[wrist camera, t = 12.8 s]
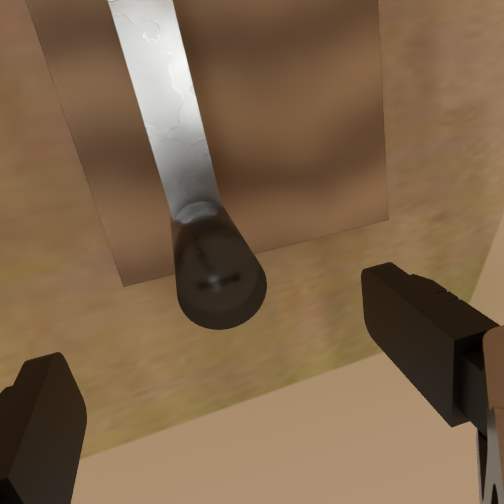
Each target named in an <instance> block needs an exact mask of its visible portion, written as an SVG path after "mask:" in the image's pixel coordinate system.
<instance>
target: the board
mask: <svg viewBox="0 0 504 504" xmlns="http://www.w3.org/2000/svg"><path fill="white" fill-rule="evenodd" d="M172 1H173V5H174V9H175V13H176V17H177V21H178V26H179V30H180V34H181V38H182V42H183V46H184V50H185V54H186V58H187V63H188V67H189V71H190V75H191V79H192V83H193V87H194V91H195V96H196V100H197V104H198V108H199V112H200V116H201V120H202V124H203V128H204V133H205V137H206V141H207V145H208V149H209V153H210V157H211V161H212V165H213V170H214V174H215V178H216V182H217V186H218V190H219V194H220V198H221V203H222V205H223V206H224V208H225V209H226V211H227V212H228V214H229V216H230V217H231V219H232V220H233V222H234V224H235V225H236V227H237V228H238V230H239V232H240V233H241V235H242V236H243V238H244V240H245V241H246V243H247V244H248V246H249V248H250V249H251V251H252V252H253V254H256V253H260V252H264V251H268V250H272V249H276V248H280V247H283V246H287V245H291V244H295V243H299V242H303V241H307V240H311V239H315V238H319V237H323V236H327V235H331V234H335V233H339V232H343V231H347V230H351V229H355V228H359V227H363V226H366V225H370V224H374V223H378V222H382V221H386V220H389V217H388V196H387V176H386V156H385V136H384V115H383V95H382V75H381V54H380V34H379V14H378V0H172ZM26 3H27V6H28V9H29V11H30V14H31V17H32V20H33V23H34V26H35V29H36V32H37V35H38V38H39V41H40V44H41V47H42V50H43V53H44V55H45V58H46V61H47V64H48V67H49V70H50V73H51V76H52V79H53V82H54V85H55V88H56V91H57V94H58V97H59V99H60V102H61V105H62V108H63V111H64V114H65V117H66V120H67V123H68V126H69V129H70V132H71V135H72V138H73V141H74V143H75V146H76V149H77V152H78V155H79V158H80V161H81V164H82V167H83V170H84V173H85V176H86V179H87V182H88V185H89V187H90V190H91V193H92V196H93V199H94V202H95V205H96V208H97V211H98V214H99V217H100V220H101V223H102V226H103V229H104V231H105V234H106V237H107V240H108V243H109V246H110V249H111V252H112V255H113V258H114V261H115V264H116V267H117V270H118V273H119V275H120V278H121V281H122V284H123V287H125V286H129V285H133V284H137V283H141V282H145V281H149V280H153V279H157V278H161V277H165V276H169V275H173V274H175V266H174V256H173V246H172V236H171V225H170V221H171V216H172V215H171V211H170V208H169V205H168V201H167V198H166V194H165V191H164V188H163V184H162V181H161V178H160V174H159V171H158V168H157V164H156V161H155V157H154V154H153V151H152V147H151V144H150V141H149V137H148V134H147V131H146V127H145V124H144V120H143V117H142V114H141V110H140V107H139V104H138V100H137V97H136V94H135V90H134V87H133V83H132V80H131V77H130V73H129V70H128V67H127V63H126V60H125V57H124V53H123V50H122V46H121V43H120V40H119V36H118V33H117V30H116V26H115V23H114V19H113V16H112V13H111V9H110V6H109V3H108V0H26Z"/></svg>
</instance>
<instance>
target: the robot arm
mask: <svg viewBox="0 0 504 504" xmlns="http://www.w3.org/2000/svg"><path fill="white" fill-rule="evenodd" d="M361 283H362V296H363V309H364V320H365V324H366V327H367V330H368V332H369V334H370V336H371V337H372V339H373V340H374V341H375V342H376V344H377V345H378V346H379V347H380V348H381V349H382V350H383V351H384V352H385V354H386V355H387V356H388V357H389V358H390V359H391V360H392V361H393V363H394V364H395V365H396V366H397V367H398V368H399V369H400V370H401V372H402V373H403V374H404V375H405V376H406V377H407V378H408V379H409V381H410V382H411V383H412V384H413V385H414V386H415V387H416V388H417V389H418V391H419V392H420V393H421V394H422V395H423V396H424V397H425V398H426V400H427V401H428V402H429V403H430V404H431V405H432V406H433V407H434V409H435V410H436V411H437V412H438V413H439V414H440V415H441V416H442V417H443V419H444V420H445V421H446V422H447V423H448V424H449V425H450V426H451V427H454V426H457V425H460V424H463V423H466V422H469V421H471V422H472V423H473V425H474V426H475V427H477V433H476V434H477V435H476V446H477V464H478V481H479V499H480V504H504V326H500V325H499V324H497V323H495V322H494V321H493V320H491V319H489V318H488V317H487V316H485V315H483V314H482V313H481V312H479V311H478V310H476V309H475V308H473V307H472V306H470V305H469V304H467V303H466V302H464V301H463V300H459V299H458V297H457V296H455V295H454V294H452V293H451V292H447V290H446V289H445V288H443V287H442V286H440V285H439V284H437V283H436V282H434V281H433V280H430V279H427V278H424V277H421V276H418V275H415V274H412V275H409V274H407V273H406V272H404V271H403V270H402V269H400V268H399V267H397V266H396V265H394V264H393V263H391V262H388V263H384V264H380V265H377V266H373V267H369V268H366V269H363V271H362V274H361ZM86 424H87V413H86V406H85V403H84V400H83V397H82V395H81V393H80V390H79V388H78V386H77V384H76V382H75V379H74V377H73V375H72V373H71V371H70V368H69V366H68V364H67V362H66V360H65V358H64V356H63V355H62V354H61V353H60V352H56V353H52V354H49V355H45V356H41V357H38V358H34V359H30V360H27V361H25V362H24V364H23V366H22V368H21V370H20V372H19V374H18V376H17V378H16V380H15V382H14V384H13V386H10V387H6V388H5V389H4V390H3V391H2V392H1V393H0V504H71V499H72V494H73V488H74V484H75V479H76V474H77V469H78V464H79V459H80V454H81V449H82V444H83V440H84V435H85V430H86Z"/></svg>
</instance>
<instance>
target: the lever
mask: <svg viewBox="0 0 504 504" xmlns="http://www.w3.org/2000/svg"><path fill="white" fill-rule="evenodd" d="M108 3H109V6H110V9H111V13H112V16H113V19H114V23H115V26H116V30H117V33H118V36H119V40H120V43H121V46H122V50H123V53H124V57H125V60H126V63H127V67H128V70H129V73H130V77H131V80H132V83H133V87H134V90H135V94H136V97H137V100H138V104H139V107H140V110H141V114H142V117H143V120H144V124H145V127H146V131H147V134H148V137H149V141H150V144H151V147H152V151H153V154H154V157H155V161H156V164H157V168H158V171H159V174H160V178H161V181H162V184H163V188H164V191H165V194H166V198H167V201H168V205H169V208H170V211H171V215H172V216H171V221H170V225H171V236H172V246H173V256H174V266H175V277H176V287H177V297H178V302H179V305H180V307H181V309H182V311H183V312H184V314H185V315H186V316H187V317H188V318H189V319H190V320H191V321H192V322H194V323H195V324H197V325H199V326H202V327H204V328H208V329H214V330H223V329H229V328H233V327H236V326H239V325H241V324H243V323H244V322H246V321H247V320H249V319H250V318H251V317H252V316H253V315H254V314H255V313H256V312H257V311H258V310H259V308H260V307H261V305H262V303H263V301H264V298H265V295H266V289H267V282H266V276H265V273H264V271H263V269H262V267H261V265H260V264H259V262H258V260H257V259H256V257H255V256H254V254H253V252H252V251H251V249H250V248H249V246H248V244H247V243H246V241H245V240H244V238H243V236H242V235H241V233H240V232H239V230H238V228H237V227H236V225H235V224H234V222H233V220H232V219H231V217H230V216H229V214H228V212H227V211H226V209H225V208H224V206H223V205H222V203H221V198H220V194H219V190H218V186H217V182H216V178H215V174H214V170H213V165H212V161H211V157H210V153H209V149H208V145H207V141H206V137H205V133H204V128H203V124H202V120H201V116H200V112H199V108H198V104H197V100H196V96H195V91H194V87H193V83H192V79H191V75H190V71H189V67H188V63H187V58H186V54H185V50H184V46H183V42H182V38H181V34H180V30H179V26H178V21H177V17H176V13H175V9H174V5H173V1H172V0H108Z"/></svg>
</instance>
